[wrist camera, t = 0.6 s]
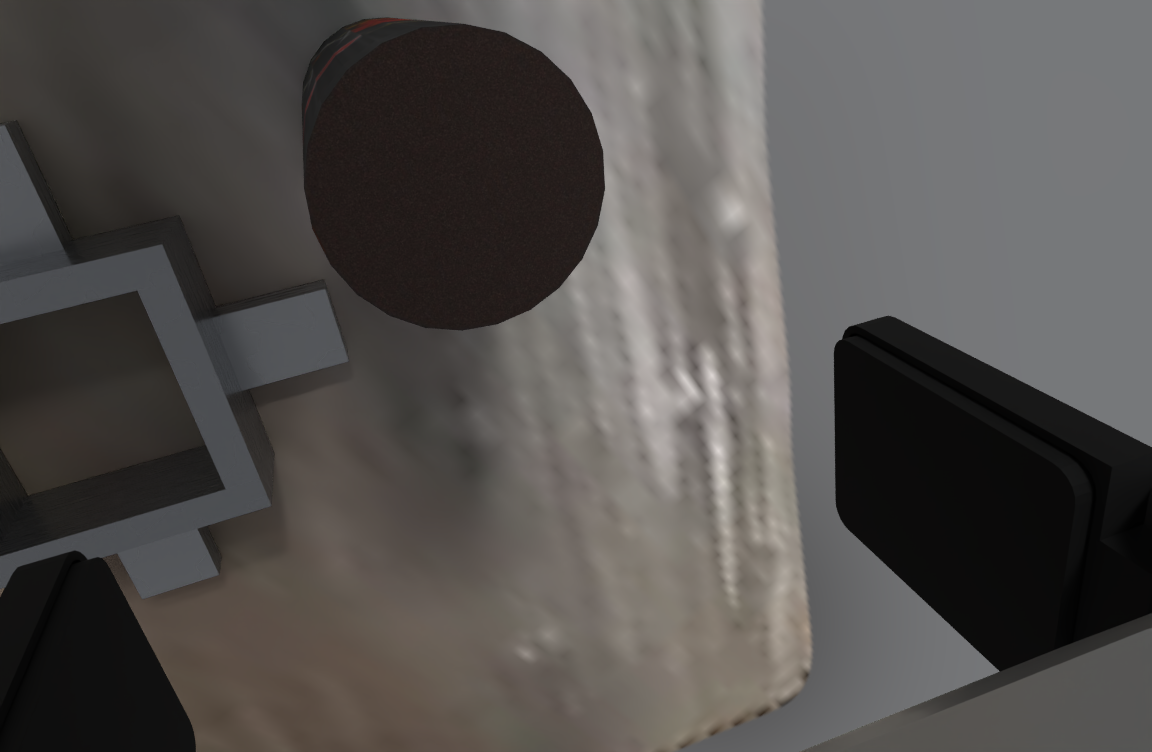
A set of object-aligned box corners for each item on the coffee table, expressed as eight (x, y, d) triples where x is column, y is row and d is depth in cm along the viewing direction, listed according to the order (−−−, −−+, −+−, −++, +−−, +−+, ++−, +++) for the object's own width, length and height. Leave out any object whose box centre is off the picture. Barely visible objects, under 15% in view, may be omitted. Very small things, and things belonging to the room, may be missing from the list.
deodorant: (271, 137, 28) (247, 246, 15) (352, -20, 27) (401, -49, 14) (421, 220, 31) (510, 374, 18) (500, 80, 30) (658, 135, 17)
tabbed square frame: (-370, 197, 24) (-484, 230, 20) (256, 72, 27) (249, 81, 24) (-52, 643, 32) (-95, 720, 28) (397, 502, 35) (408, 555, 32)
